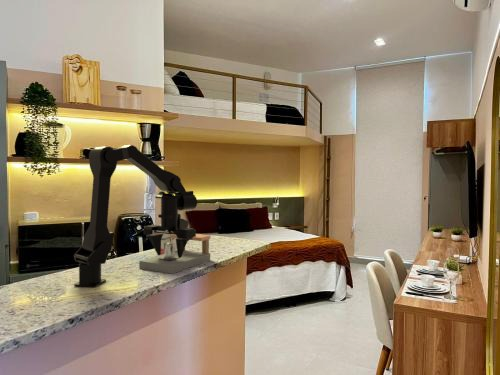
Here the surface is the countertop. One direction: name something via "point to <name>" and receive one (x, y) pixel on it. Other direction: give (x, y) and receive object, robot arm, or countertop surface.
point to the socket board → (179, 263)
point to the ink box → (167, 239)
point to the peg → (169, 251)
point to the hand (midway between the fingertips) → (169, 256)
